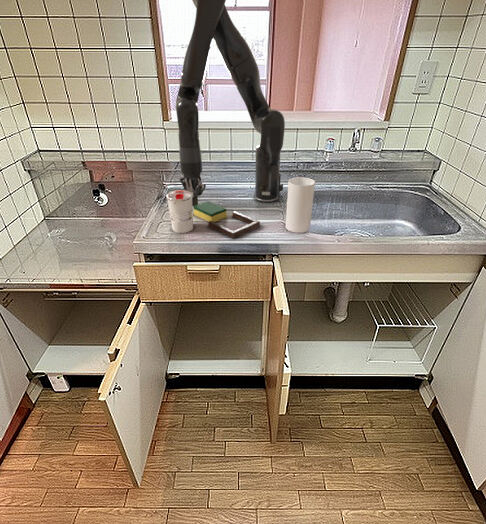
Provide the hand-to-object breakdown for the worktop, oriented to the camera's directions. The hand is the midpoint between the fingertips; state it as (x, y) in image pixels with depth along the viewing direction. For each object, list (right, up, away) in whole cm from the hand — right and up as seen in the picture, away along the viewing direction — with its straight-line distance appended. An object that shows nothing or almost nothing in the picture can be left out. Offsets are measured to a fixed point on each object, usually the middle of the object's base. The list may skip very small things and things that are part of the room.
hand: (194, 205), depth 133 cm
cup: (+37, -10, -13) cm, 40 cm away
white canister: (-2, -10, -13) cm, 17 cm away
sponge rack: (+15, -9, -12) cm, 21 cm away
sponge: (+6, -5, -5) cm, 9 cm away
